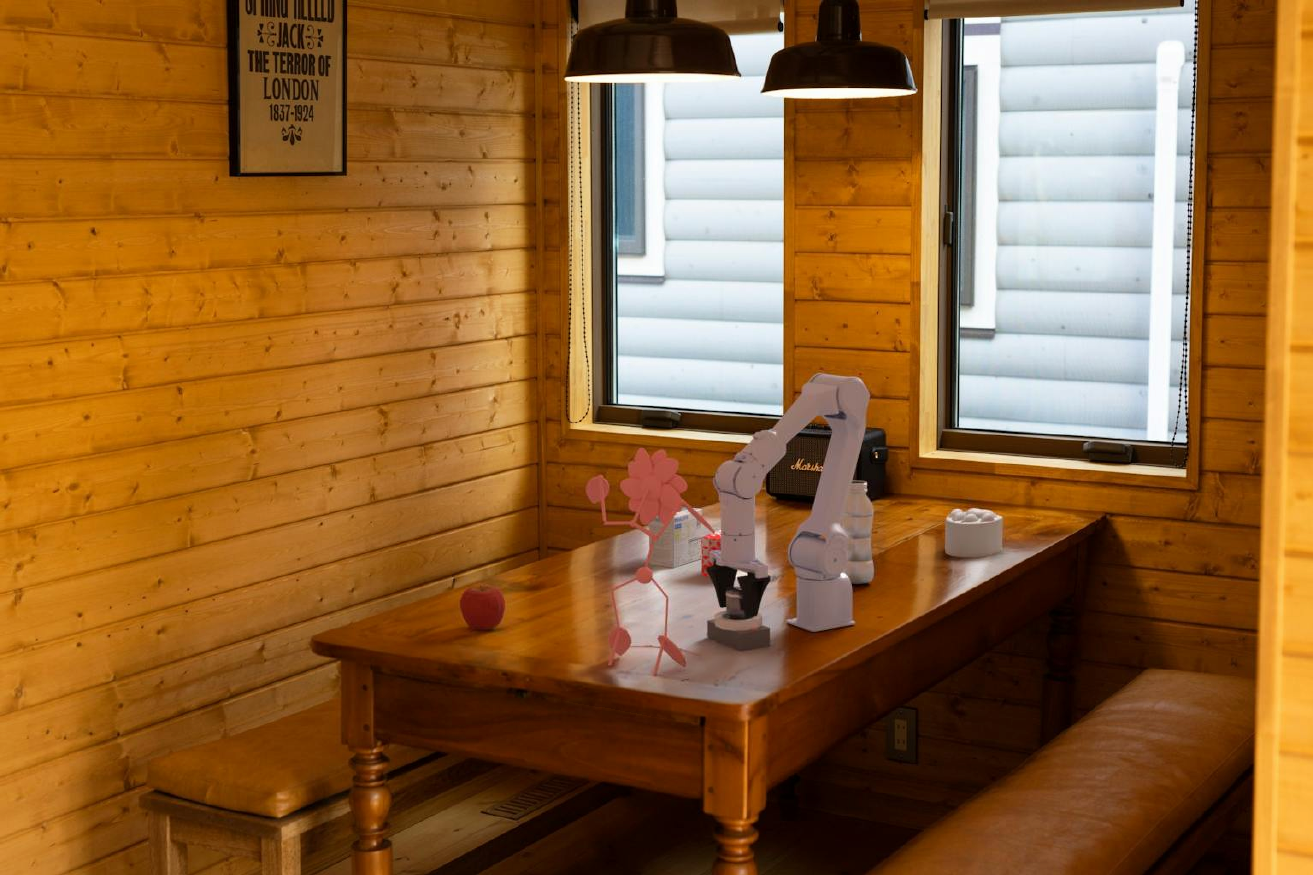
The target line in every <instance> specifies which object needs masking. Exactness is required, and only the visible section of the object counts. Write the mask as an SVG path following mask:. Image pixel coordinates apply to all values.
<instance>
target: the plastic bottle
mask: <svg viewBox="0 0 1313 875" xmlns="http://www.w3.org/2000/svg"><path fill="white" fill-rule="evenodd" d="M867 487H868V482H867V481H865V480H852V483H851V487H850V491H849V495H848V499H847V502H846V506H845V510H844V514H843V518H842V522H841V527H842V528H843V530H844V532H845V533H846V535H847V536H848V538H849V540H848V545H847V555H848V559H847V564H846V567H845V569H844V570H843V572H842V573H844V574H846V575H847V576H848V578H849V579H850V582H851V584H854V585H862V584H867V583H870V582H871V581H872V580H873V578H874V575H875V574H874V573H875V568H874V561H873V558H872V557H873V556H872V537H871V536H872V527H873V520H874V511H875V510H874V505H873V503H872V502H871V499H870V498H869V497H868V495H867V492H868V488H867Z"/></svg>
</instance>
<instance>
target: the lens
mask: <svg viewBox="0 0 1313 875" xmlns="http://www.w3.org/2000/svg"><path fill="white" fill-rule="evenodd" d="M725 611H726V619H732V620H746V619H750V617H749V618H747V617H745V614H744V607H743V596H742V592H741V588H740V586H734V587H731V588H727V589H726V607H725Z"/></svg>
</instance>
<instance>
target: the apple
mask: <svg viewBox="0 0 1313 875" xmlns="http://www.w3.org/2000/svg"><path fill="white" fill-rule="evenodd" d="M459 606H460V607H459V608H460V611H461V614H462V618H463V620H464V622H465V624H466V625H467V626H468V627H470V628H471V629H472V630H476V631H487V630H492V629H494V628H496V627H498V625H500V624H501V622H502V620H503V618H504V614H505V612H506V611H505V610H506V599H505V598H504V596H503V593H501V591H500V590H499V589H498V588H497V587H493V586H488V585H485V586H484V585H480V586H474V587H469V588H466V589H465V590H464V591H463V593H462V594H461V596H460V599H459Z"/></svg>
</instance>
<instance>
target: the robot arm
mask: <svg viewBox="0 0 1313 875" xmlns="http://www.w3.org/2000/svg"><path fill="white" fill-rule="evenodd" d="M870 397H871V393H870V391H869V390H868V388H867V386H866V384H865V383H864V381H863V380H862V379H861V378H859V377H858V376H842V375H835V374H827V373H824V372H818V373H815V374H814V375H812V376H811V377H810V379H809V381H807V382H806V383H805V384H803V385H802V388H801V394H800V395H799V396H798V397H797V399H796V400H795V401H794V402H793V404H792V405H791V406H790V407H789V408H788V410H787V411H786V412H785V413H784V414H783V415H782V417H781V418H780V419H779V420H778V421H777V422H776V424H775V425H774V426H773V427H772V428H771V429H770V430H768V429H764V430H763V429H762V430H761V431H756V432H755V433H754V434H753V435H752V439H751V440H750V441H749V443H748V444H746V445H745V446H744V448H743V449H742V450H741V451H740V452H739V451H738V452H737V453H736V454H735V455H734V458H733V459H732V460H726V461H724V462H723V463H721V464H720V465H719V466H718V468H717V470H716V472H715V477H713V478H712V483H713V486H714V489H715V490H716V491H717V494H718V501H719V502H720V530H721V550H715V551H710V552H709V553H710V562H711V563H714V564H713V566H709V567H706V571H707V573H708V574H709V576H708V577H710V580H711V582H712V584H713V588H714V590H715V593H716V598H717V601H718V606H719V608H721V609H724V608H726V589H727V588H731V587H735V582H736V580H735V578H736V574H737V571H738V570H740V571H743V572H746V573H747V575H745V576H739V577H737V583H738V584H739V587H740V588H741V592H742V596H743V607H744V614H745V617H747V618H749V617H754V616H757V615H758V613H759V610H760V606H761V602H762V598H763V596H764V594H765V591H766V589H767V587H768V586H769V584H770V582H771V580H772V579H771V575H769V565H767V564H764V563H763V562H761V560H759V559H758V558H757V557H756V495H757V494H760V491H761V489H762V487H763V485H764V484H763V483H764V480H765V478H766V477H767V474H768V473H769V472H770V471H771V470H772V469H773V468H774V467H775V466H776V465H777V464H778V462H780V460H782V458H784V456H785V455H786V453H787V444H788V443H789V441H791V440H792V439H793V438H795V437H796V436H797V434H799V433H800V432H801V431H802V430H803V429H804V428H805V427H807V425H809V424H810V423H811V422H812V421H813V420H814V419H815V418H816V417H819V416H821V417H822V419H824V420H825V421H826V422H827V424H828V425H829V427H830V429H831V431H832V433H831V436H830V441H829V444H828V448H827V450H826V454H825V459H824V463H823V466H822V470H821V473H820V477H819V481H818V485H817V489H816V494H815V498H814V501H813V504H812V507H811V508H812V509H811V512H810V516H809V517H808V518H807V519H806V520H804V521H803V522H801V523H800V524H798V526H797V529H796V532H795V534H794V536H793V538H792V539H791V541H790V543H789V545H788V548H787V558H788V561H789V563H790V565H791V566H792V567H794V569H793V570H794V573H795V574H796V617H794V618H789V619H786V621H785V622H786V623H787V624H790V625H793V626H795V627H798V628H801V629H803V630H806V631H809V632H812V633H816V632H821V631H826V630H831V629H837V628H842V627H849V626H851V625H853V626H854V625H855V624H856V621H854V620H853V586H852V583H851V582H850V579H849V578H848V576H847V575H846V574H844V573H842V572H843V570H844V569H845V567H846V564H847V559H848V555H847V545H848V540H849V538H848V536H847V535H846V533H845V532H844V530H843V527H842V518H843V514H844V510H845V506H846V502H847V499H848V495H849V491H850V487H851V483H852V481H853V480H854V475H855V471H856V468H857V463H858V461H859V460H858V459H859V457H860V456H859V455H860V453H861V448H862V444H863V440H864V438H865V432H866V429H867V428H866V427H867V419H866V418H867V416H866V414H867V410H868V406H869V402H870ZM821 537H824V538H825V539H824V538H821Z"/></svg>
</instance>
